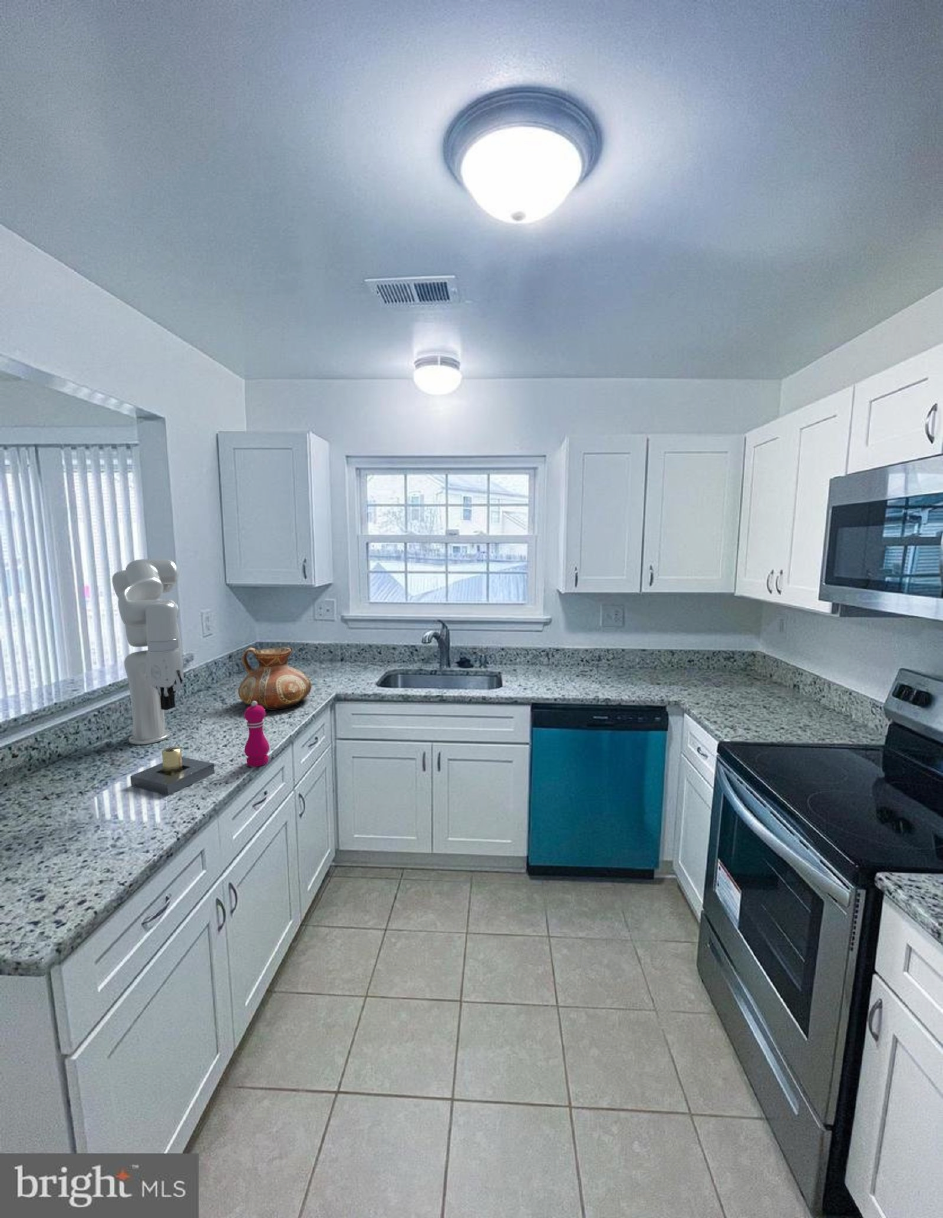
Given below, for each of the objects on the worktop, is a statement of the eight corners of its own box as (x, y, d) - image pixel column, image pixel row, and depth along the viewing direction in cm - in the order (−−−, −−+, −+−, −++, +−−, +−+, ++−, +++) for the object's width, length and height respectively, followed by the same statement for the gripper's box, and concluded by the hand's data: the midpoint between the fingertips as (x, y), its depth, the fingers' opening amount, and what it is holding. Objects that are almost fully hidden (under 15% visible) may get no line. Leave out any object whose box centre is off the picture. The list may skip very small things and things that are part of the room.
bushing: (160, 781, 148) (157, 751, 147) (175, 774, 152) (173, 745, 151) (172, 784, 146) (169, 753, 145) (187, 777, 150) (184, 747, 149)
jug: (298, 690, 243) (296, 638, 240) (324, 704, 220) (322, 647, 217) (231, 702, 224) (227, 646, 221) (252, 719, 201) (248, 657, 198)
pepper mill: (243, 768, 156) (239, 705, 154) (247, 759, 163) (243, 698, 160) (268, 766, 158) (265, 703, 155) (271, 756, 165) (267, 696, 162)
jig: (131, 786, 145) (130, 775, 145) (179, 765, 159) (178, 756, 158) (168, 795, 139) (167, 784, 139) (214, 773, 153) (213, 763, 153)
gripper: (132, 646, 144) (137, 709, 146) (169, 650, 138) (174, 715, 140) (157, 641, 151) (162, 701, 153) (194, 645, 145) (198, 707, 147)
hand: (168, 708), depth 147 cm, fingers closed
